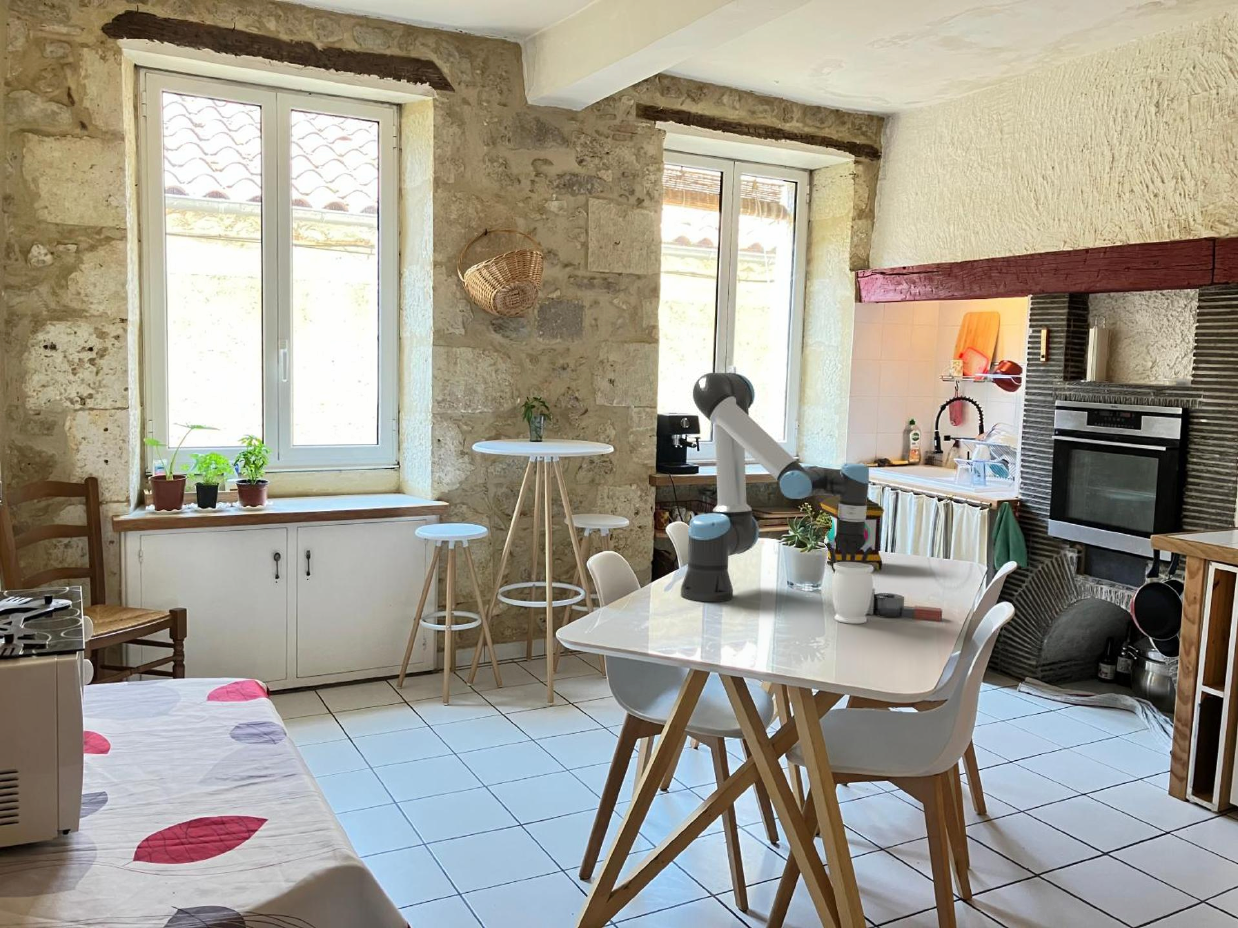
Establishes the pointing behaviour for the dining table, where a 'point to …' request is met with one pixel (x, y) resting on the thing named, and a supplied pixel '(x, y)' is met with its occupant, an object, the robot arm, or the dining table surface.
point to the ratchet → (902, 608)
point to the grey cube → (871, 603)
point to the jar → (852, 591)
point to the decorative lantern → (870, 533)
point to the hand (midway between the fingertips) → (844, 603)
